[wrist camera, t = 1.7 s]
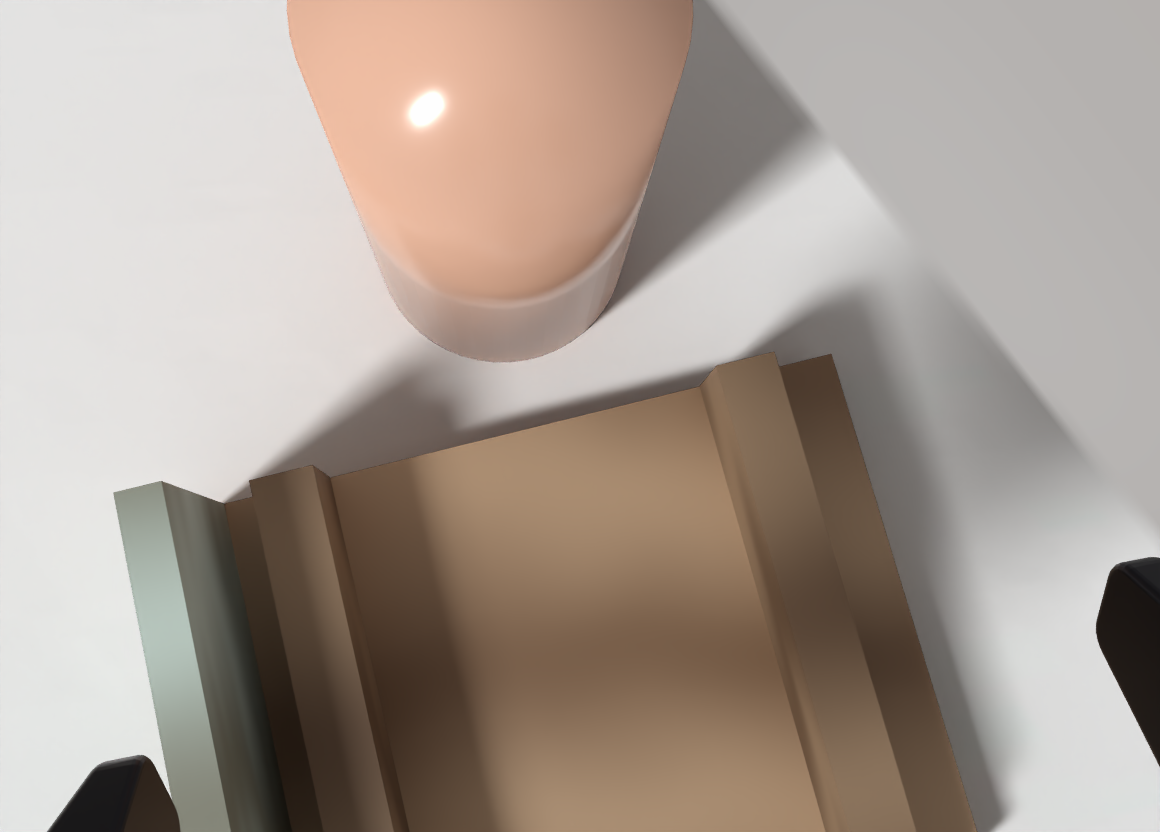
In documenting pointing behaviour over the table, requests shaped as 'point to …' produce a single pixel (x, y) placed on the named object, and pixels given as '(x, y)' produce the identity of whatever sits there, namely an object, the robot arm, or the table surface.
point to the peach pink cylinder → (495, 151)
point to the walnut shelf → (552, 632)
